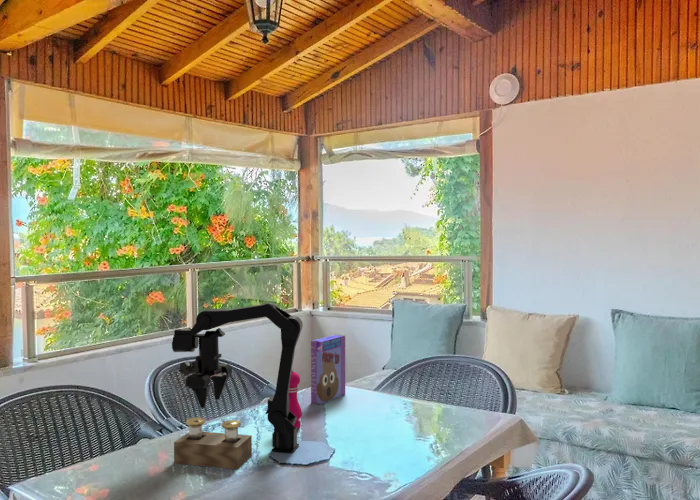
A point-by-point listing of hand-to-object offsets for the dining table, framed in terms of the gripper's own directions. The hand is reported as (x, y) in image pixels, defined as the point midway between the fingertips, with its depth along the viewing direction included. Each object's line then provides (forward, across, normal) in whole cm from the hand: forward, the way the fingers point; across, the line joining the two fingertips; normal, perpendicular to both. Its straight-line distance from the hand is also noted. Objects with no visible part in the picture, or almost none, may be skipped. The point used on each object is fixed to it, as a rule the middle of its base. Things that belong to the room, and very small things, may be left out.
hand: (210, 403), depth 178 cm
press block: (+14, +8, +5) cm, 17 cm away
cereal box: (+14, -62, +18) cm, 66 cm away
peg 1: (+9, +9, 0) cm, 13 cm away
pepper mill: (+14, -25, +16) cm, 33 cm away
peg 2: (+10, +8, +11) cm, 17 cm away
